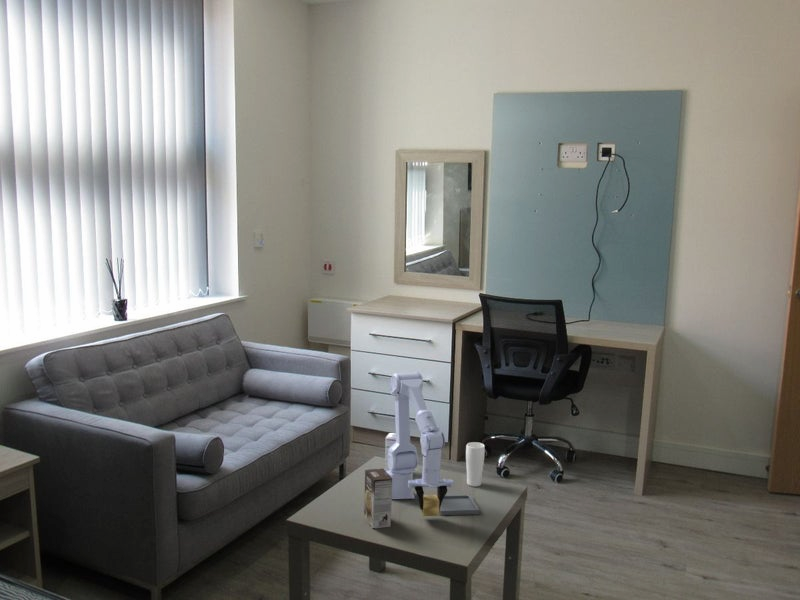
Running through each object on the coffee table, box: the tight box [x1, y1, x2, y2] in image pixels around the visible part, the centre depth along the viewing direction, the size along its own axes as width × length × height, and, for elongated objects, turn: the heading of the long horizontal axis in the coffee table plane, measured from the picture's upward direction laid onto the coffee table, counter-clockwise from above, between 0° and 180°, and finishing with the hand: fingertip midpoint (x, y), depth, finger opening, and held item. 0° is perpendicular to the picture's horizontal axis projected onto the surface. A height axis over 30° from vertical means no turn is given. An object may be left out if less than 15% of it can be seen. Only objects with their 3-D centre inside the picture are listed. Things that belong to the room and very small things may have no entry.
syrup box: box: [384, 432, 396, 471], centre depth 271 cm, size 6×6×14 cm
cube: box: [420, 494, 440, 517], centre depth 230 cm, size 5×5×5 cm
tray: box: [439, 493, 481, 516], centre depth 242 cm, size 13×13×2 cm
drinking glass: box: [465, 441, 486, 488], centre depth 261 cm, size 7×7×15 cm
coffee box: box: [363, 468, 393, 529], centre depth 228 cm, size 9×6×16 cm
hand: (429, 508), depth 231 cm, fingers closed on cube, 5 cm apart
